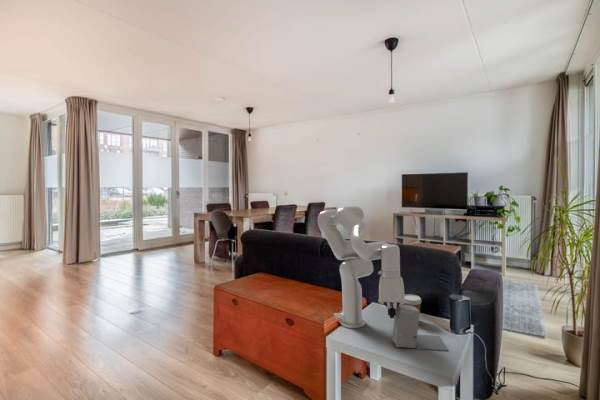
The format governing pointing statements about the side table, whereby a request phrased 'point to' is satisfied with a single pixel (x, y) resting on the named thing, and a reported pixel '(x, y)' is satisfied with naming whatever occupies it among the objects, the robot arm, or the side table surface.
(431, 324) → the side table surface
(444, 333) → the side table surface
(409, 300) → the disposable coffee cup
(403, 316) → the skincare box
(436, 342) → the mat
